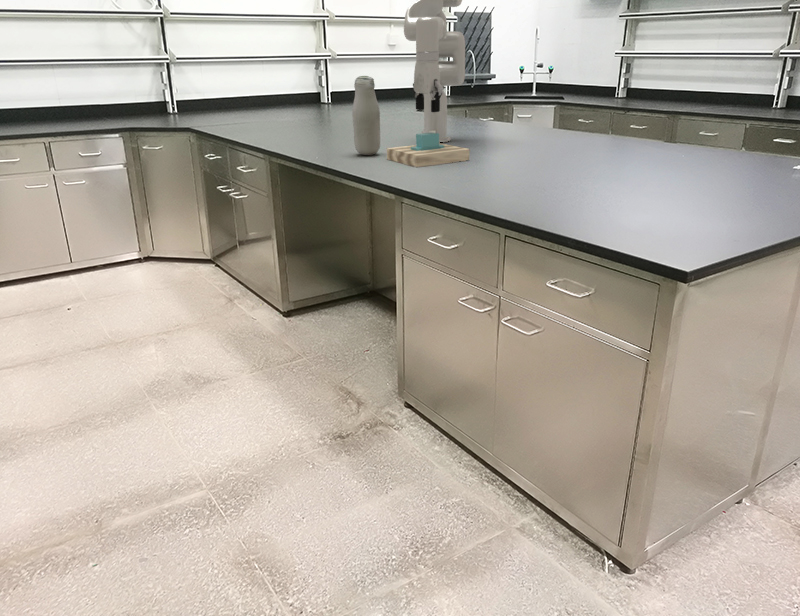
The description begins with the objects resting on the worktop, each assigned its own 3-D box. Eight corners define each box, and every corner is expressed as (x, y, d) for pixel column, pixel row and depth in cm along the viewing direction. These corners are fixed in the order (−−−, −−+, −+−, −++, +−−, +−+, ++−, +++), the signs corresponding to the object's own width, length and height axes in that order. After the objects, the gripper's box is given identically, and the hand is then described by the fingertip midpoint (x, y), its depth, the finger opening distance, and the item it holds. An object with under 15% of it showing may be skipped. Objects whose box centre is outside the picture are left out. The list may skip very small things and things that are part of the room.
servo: (410, 160, 222) (410, 132, 219) (438, 157, 228) (438, 129, 224) (416, 162, 219) (416, 133, 215) (444, 158, 225) (444, 130, 221)
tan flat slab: (386, 159, 226) (386, 148, 225) (437, 153, 237) (437, 142, 235) (416, 167, 210) (416, 155, 209) (469, 160, 221) (469, 149, 219)
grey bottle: (382, 152, 240) (379, 74, 230) (378, 157, 231) (376, 76, 220) (356, 152, 241) (353, 75, 231) (352, 157, 232) (348, 76, 221)
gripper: (404, 57, 216) (405, 109, 223) (432, 58, 202) (432, 114, 209) (422, 56, 219) (423, 107, 226) (451, 57, 205) (450, 112, 212)
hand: (427, 110), depth 217 cm, fingers open, 9 cm apart
